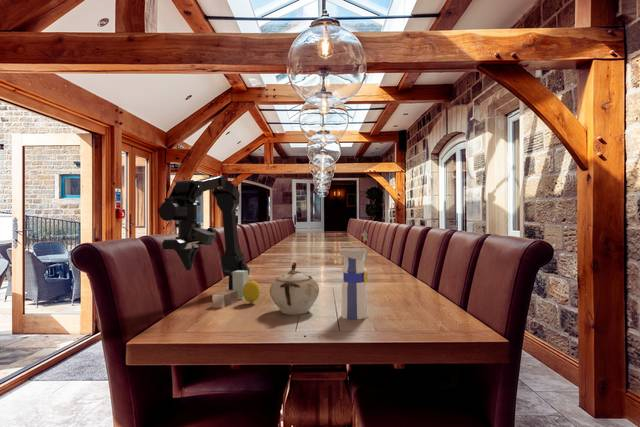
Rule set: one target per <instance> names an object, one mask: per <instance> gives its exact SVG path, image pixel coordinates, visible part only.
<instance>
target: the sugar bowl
mask: <svg viewBox="0 0 640 427" xmlns="http://www.w3.org/2000/svg"><path fill="white" fill-rule="evenodd" d="M296 269H297V263H296V262H293V263H292V264H291V269H290V270H289V271H288V272H287V273H285V274H283V275H282V274H281V276H277V277H276V278H275V279H274V280H273V282H271V285H270V287H269V295H270V297H271V299H272V302H273V303H274V305H276V307H277V308H278V309H279V311H280V312H281V313H282V314H283V315H291V316H292V315H297V316H298V315H304V314H306V313H307V314H308V313H309V311H310V309H311V308H312V307H313V305H314V304H315V302H316V300H317V298H318V296H319V293H320V286H319V284H318V281H316V280H315V279H314V277H312V276H310V275H308V274H305V273H302V272H300V271H297V270H296Z"/></svg>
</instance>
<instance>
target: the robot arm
mask: <svg viewBox="0 0 640 427" xmlns="http://www.w3.org/2000/svg"><path fill="white" fill-rule="evenodd" d="M210 190H211V195H212V196H213V197H214V198H215V200H216V206H217V207H218V208H219V210H220V212H221V213H222V214H221V216H222V224H223V225H222V226H223V237H224V248H225V250H224V253H223V254H222V255H221V256H220V262H221V264H220V265H221V266H220V267H221V272H222V276H223V277H228V285H227V286H228V290H233V272H234V271H237V270H245V271H248V276H249V275H250V268H249V267H248V264H247V262H246V260H245V255H244V253H243V252H242V251H241V249H240V248H239V237H238V226H237V225H238V223H237V212H236V211H237V209H238V207H239V204H240V197H241V194H240V190H239V189H238V188H237V186H236V185H235V184H234V183H233V182H231V181H229V180H228V179H227V178H226V177H225V176H224V175H221V174H220V175H219V174H218V175H211V176H209V177H204V178H200V179H185V180H184V179H183V180H181V179H180V180H177V181H175V183H174V186H173V187H172V189H171V192H170V194H169V196H168V197H165V198H164V202H162V203H161V205H160V206H159V208H158V214H159V217H160V219H162V220H163V221H165V222H174V221H175V222H176V221H177V223H175V226H174V227H175V228H178V229H177V232H178V233H177V234H178V236H175V238H169V239H163V241H162V242H161V250H173V251H175V252H176V254H177V256H178V258H179V259H180V260H181V262H182V264H183V266H184V268H185V270H186V271H191V270H192V266H193V264H194V260H195V258H196V254H197V252H199V250H201V249H202V248H203V247H202V245H205V246H211V245H213V242H214V239H216V238H217V231H216V228H213V227H209V228H207V229H205V228H202V225H201V223H199V222H198V206H201V203H200V201H198V198H199V197H200V196H202V195H203V193H204V192H207V191H210ZM199 245H201V246H199Z"/></svg>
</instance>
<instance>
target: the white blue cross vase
mask: <svg viewBox="0 0 640 427" xmlns="http://www.w3.org/2000/svg"><path fill="white" fill-rule="evenodd" d="M368 235H369V233H367V232H366V230H365V229H363V233H361V236H362V237H363V240H362V242H366V241H368V237H367V236H368ZM339 256H342V257H343V267H342V268H341V271H342V275H343V277H342V283H341V284H342V285H341V316H340V317H341V319H342V318H343V319H346V320H363V319H367V318H368V317H369V313H368V298H367V297H368V291H367V288H368V287H367V282H368V271H367V268H366V267H365V260H367V258H368V256H369V254H368V250H367V248H362V247H360V248H358V247H346V248H344V247H343V248H341V249H340V252H339Z"/></svg>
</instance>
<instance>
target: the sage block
mask: <svg viewBox="0 0 640 427" xmlns="http://www.w3.org/2000/svg"><path fill="white" fill-rule="evenodd" d="M248 281H249V275H248V271H245V270H237V271H234V272H233V290H238V300H245V298H244V296H243V287H244V285H245V283H246V282H248Z"/></svg>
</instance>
